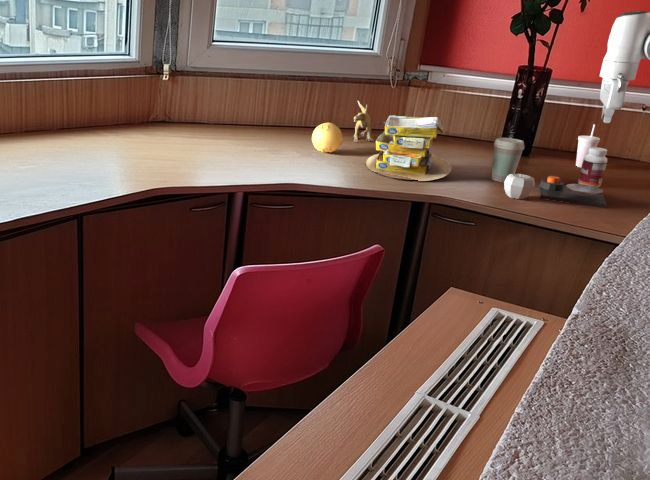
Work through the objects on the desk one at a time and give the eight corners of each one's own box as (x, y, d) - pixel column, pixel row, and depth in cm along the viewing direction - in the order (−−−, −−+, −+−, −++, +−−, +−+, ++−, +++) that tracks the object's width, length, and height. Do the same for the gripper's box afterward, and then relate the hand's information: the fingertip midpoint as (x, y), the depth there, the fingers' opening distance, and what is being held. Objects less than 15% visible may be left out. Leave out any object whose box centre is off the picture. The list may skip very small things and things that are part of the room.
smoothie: (588, 170, 231) (599, 126, 226) (567, 165, 236) (578, 123, 231) (595, 167, 236) (606, 124, 230) (575, 163, 240) (585, 121, 235)
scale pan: (600, 188, 198) (601, 186, 198) (604, 196, 191) (604, 194, 190) (564, 184, 201) (565, 182, 201) (566, 191, 194) (567, 189, 194)
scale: (600, 195, 203) (602, 185, 202) (605, 208, 191) (608, 197, 190) (538, 187, 209) (540, 177, 208) (539, 199, 197) (542, 188, 196)
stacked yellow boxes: (435, 186, 205) (445, 128, 198) (353, 171, 217) (361, 116, 211) (458, 170, 224) (469, 117, 217) (382, 157, 236) (389, 106, 230)
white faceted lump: (504, 200, 194) (509, 176, 192) (497, 192, 202) (502, 169, 199) (535, 203, 193) (540, 179, 191) (527, 195, 200) (533, 172, 198)
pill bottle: (574, 181, 217) (583, 145, 213) (595, 183, 216) (605, 147, 212) (581, 187, 211) (591, 150, 207) (603, 188, 210) (613, 151, 206)
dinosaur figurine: (349, 146, 250) (354, 107, 245) (352, 132, 274) (357, 96, 269) (371, 148, 249) (377, 109, 244) (373, 133, 272) (378, 98, 267)
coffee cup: (515, 185, 210) (524, 144, 205) (484, 180, 214) (492, 140, 209) (518, 179, 217) (527, 139, 212) (488, 174, 220) (496, 135, 216)
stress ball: (308, 153, 237) (311, 123, 233) (312, 147, 246) (316, 118, 242) (338, 157, 234) (342, 126, 230) (342, 151, 243) (345, 121, 239)
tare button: (557, 182, 204) (559, 176, 204) (558, 185, 202) (559, 179, 201) (546, 181, 205) (547, 175, 205) (546, 183, 203) (548, 177, 202)
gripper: (636, 76, 191) (622, 128, 196) (626, 69, 209) (613, 117, 214) (609, 74, 193) (596, 125, 198) (602, 67, 211) (590, 114, 216)
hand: (605, 121), depth 206 cm, fingers open, 3 cm apart
